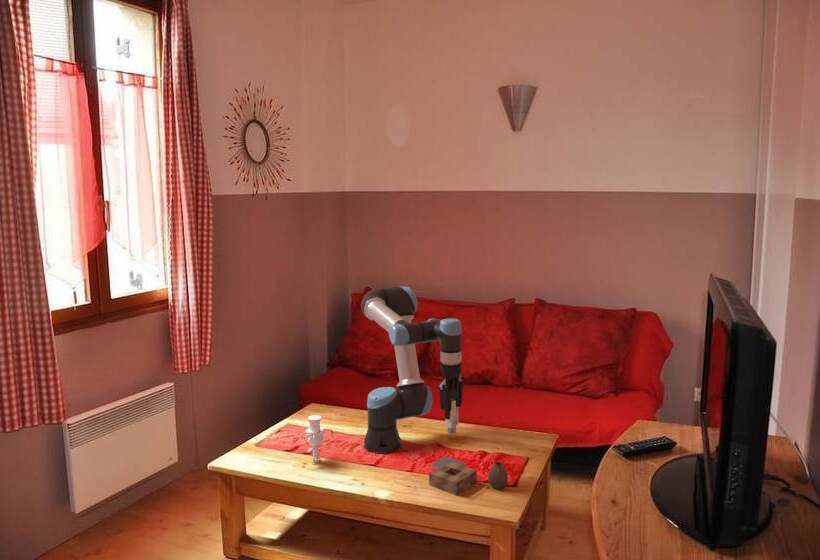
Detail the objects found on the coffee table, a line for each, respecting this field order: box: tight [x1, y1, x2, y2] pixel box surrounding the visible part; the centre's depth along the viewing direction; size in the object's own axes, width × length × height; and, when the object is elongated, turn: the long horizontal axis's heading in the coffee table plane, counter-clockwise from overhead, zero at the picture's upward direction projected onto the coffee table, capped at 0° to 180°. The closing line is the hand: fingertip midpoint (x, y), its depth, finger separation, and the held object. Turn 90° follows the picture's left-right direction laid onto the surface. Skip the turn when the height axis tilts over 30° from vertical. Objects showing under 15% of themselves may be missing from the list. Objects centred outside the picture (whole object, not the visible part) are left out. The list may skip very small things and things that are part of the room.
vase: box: [487, 461, 509, 490], centre depth 229 cm, size 7×7×9 cm
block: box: [428, 461, 478, 497], centre depth 230 cm, size 12×12×5 cm
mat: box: [429, 455, 467, 469], centre depth 246 cm, size 10×10×1 cm
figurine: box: [303, 414, 326, 464], centre depth 249 cm, size 10×8×18 cm
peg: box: [447, 399, 457, 434], centre depth 235 cm, size 3×3×12 cm
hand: (451, 425), depth 235 cm, fingers closed on peg, 3 cm apart
